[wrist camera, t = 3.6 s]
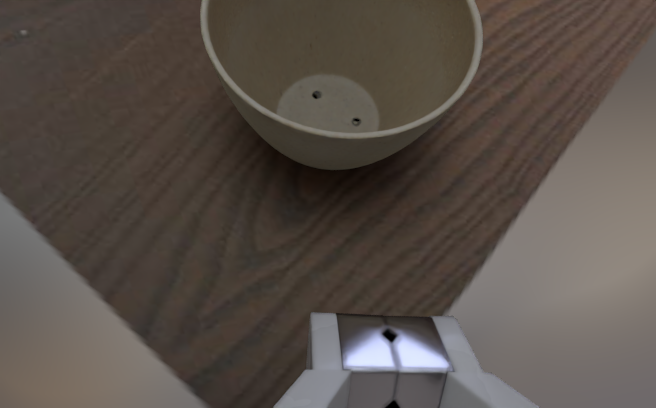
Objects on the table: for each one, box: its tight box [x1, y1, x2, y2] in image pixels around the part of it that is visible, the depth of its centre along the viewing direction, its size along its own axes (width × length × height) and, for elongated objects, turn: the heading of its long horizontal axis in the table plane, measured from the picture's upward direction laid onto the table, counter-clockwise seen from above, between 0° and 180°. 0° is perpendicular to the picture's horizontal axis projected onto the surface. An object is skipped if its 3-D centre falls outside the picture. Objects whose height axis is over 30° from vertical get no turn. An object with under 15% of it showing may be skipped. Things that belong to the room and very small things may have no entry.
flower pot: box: [200, 0, 483, 170], centre depth 19 cm, size 10×10×7 cm
